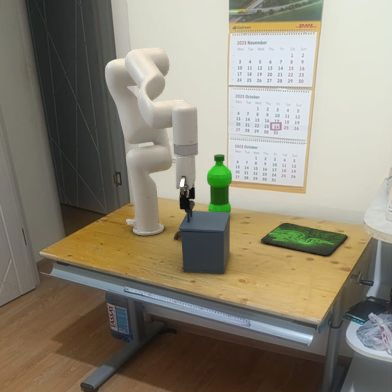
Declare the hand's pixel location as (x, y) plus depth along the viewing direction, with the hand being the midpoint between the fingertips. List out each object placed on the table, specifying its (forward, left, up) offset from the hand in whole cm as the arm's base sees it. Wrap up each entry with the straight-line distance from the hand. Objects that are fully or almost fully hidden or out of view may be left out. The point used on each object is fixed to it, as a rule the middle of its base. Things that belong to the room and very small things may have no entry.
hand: (187, 204), depth 155 cm
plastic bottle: (+5, +44, -20) cm, 49 cm away
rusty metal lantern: (-3, +17, -20) cm, 27 cm away
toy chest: (+6, -1, -20) cm, 21 cm away
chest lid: (+6, -1, -6) cm, 8 cm away
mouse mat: (+40, +22, -20) cm, 50 cm away
